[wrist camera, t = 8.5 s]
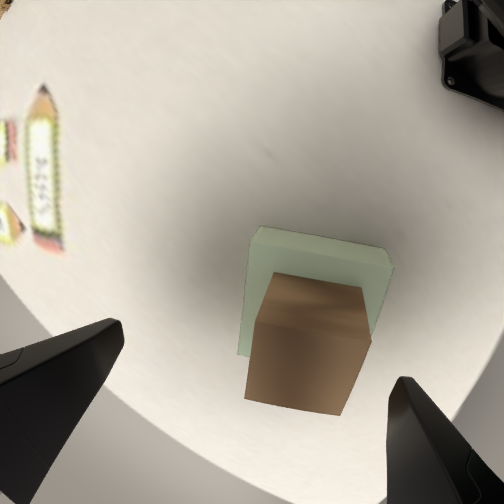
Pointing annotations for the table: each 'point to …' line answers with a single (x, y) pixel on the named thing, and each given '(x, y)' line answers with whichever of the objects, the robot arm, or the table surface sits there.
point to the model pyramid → (4, 6)
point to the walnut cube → (307, 344)
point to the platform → (311, 271)
